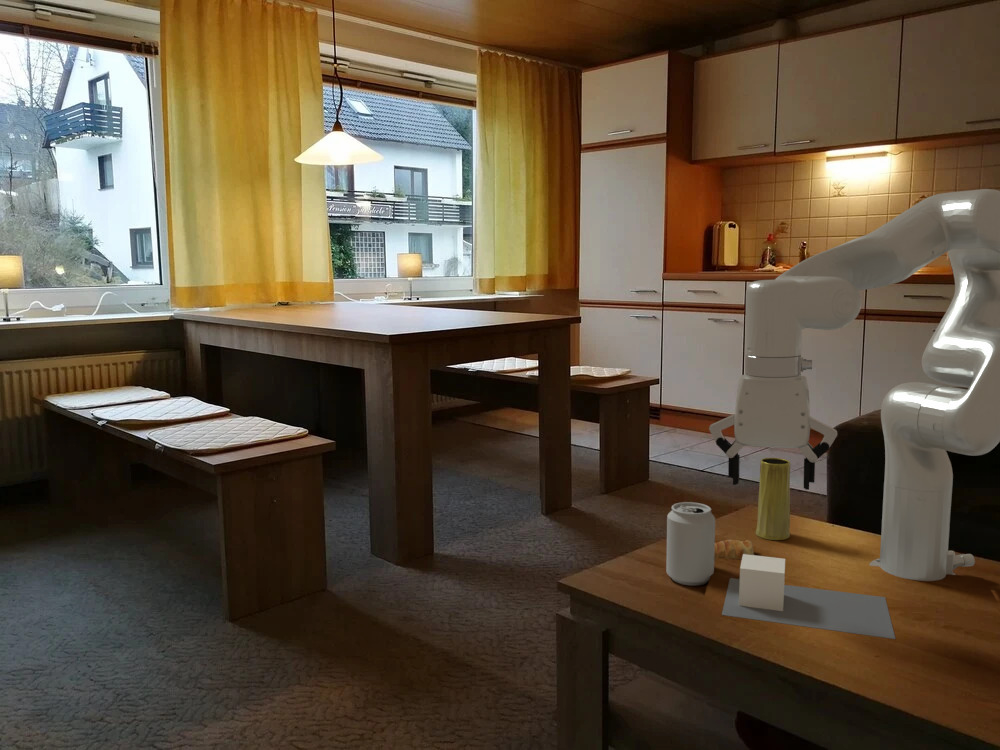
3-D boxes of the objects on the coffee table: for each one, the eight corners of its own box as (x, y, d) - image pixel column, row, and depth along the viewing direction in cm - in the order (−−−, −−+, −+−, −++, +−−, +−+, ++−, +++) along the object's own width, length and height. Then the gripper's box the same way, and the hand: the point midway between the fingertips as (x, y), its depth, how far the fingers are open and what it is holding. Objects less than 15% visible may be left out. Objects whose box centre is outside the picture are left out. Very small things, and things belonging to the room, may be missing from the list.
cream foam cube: (783, 594, 117) (785, 558, 117) (783, 611, 112) (784, 573, 111) (741, 589, 119) (742, 554, 119) (738, 605, 114) (740, 568, 113)
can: (715, 589, 124) (717, 515, 122) (666, 585, 125) (667, 512, 123) (712, 571, 131) (714, 501, 129) (666, 568, 132) (667, 498, 131)
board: (884, 606, 116) (885, 597, 116) (894, 649, 103) (895, 638, 103) (729, 587, 124) (729, 578, 124) (721, 624, 111) (721, 614, 111)
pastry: (699, 567, 133) (699, 545, 133) (695, 553, 140) (696, 532, 139) (756, 570, 132) (757, 547, 131) (750, 555, 138) (751, 534, 138)
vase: (758, 540, 145) (760, 464, 143) (753, 529, 151) (755, 456, 149) (792, 541, 144) (795, 465, 142) (786, 530, 150) (789, 457, 148)
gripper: (837, 365, 112) (834, 481, 115) (712, 363, 118) (711, 474, 121) (840, 372, 105) (836, 496, 108) (707, 370, 111) (706, 487, 114)
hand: (770, 484), depth 114 cm, fingers open, 9 cm apart
